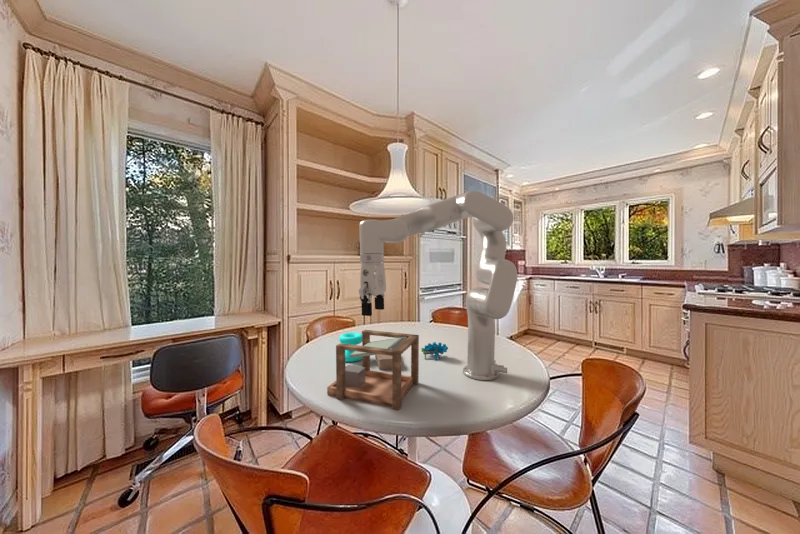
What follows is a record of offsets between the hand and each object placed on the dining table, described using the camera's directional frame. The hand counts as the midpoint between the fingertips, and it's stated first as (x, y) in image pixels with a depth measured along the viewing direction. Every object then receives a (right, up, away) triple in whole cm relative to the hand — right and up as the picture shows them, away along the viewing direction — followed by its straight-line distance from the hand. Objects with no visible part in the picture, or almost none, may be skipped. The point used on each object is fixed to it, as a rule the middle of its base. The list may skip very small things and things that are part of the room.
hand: (373, 312), depth 101 cm
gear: (+23, -24, +31) cm, 45 cm away
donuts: (-12, -24, +30) cm, 40 cm away
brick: (+3, -24, +26) cm, 36 cm away
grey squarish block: (-4, -22, +3) cm, 22 cm away
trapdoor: (+2, -12, 0) cm, 12 cm away
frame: (0, -25, +1) cm, 25 cm away
